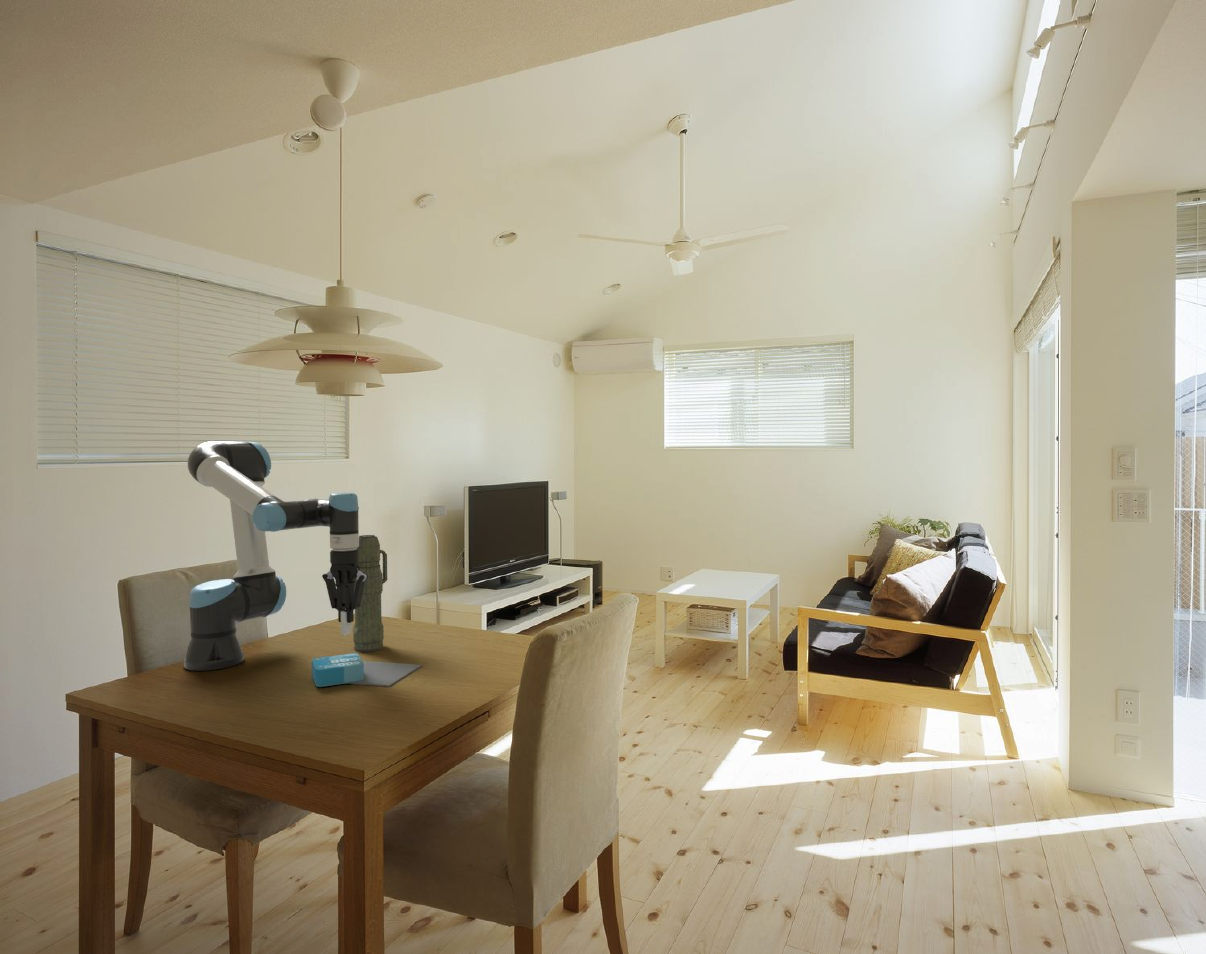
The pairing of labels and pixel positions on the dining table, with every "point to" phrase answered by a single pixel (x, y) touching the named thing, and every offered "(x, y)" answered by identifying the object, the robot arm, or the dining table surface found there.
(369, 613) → the thermos
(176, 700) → the dining table surface
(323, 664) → the blue flat block
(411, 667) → the mat
